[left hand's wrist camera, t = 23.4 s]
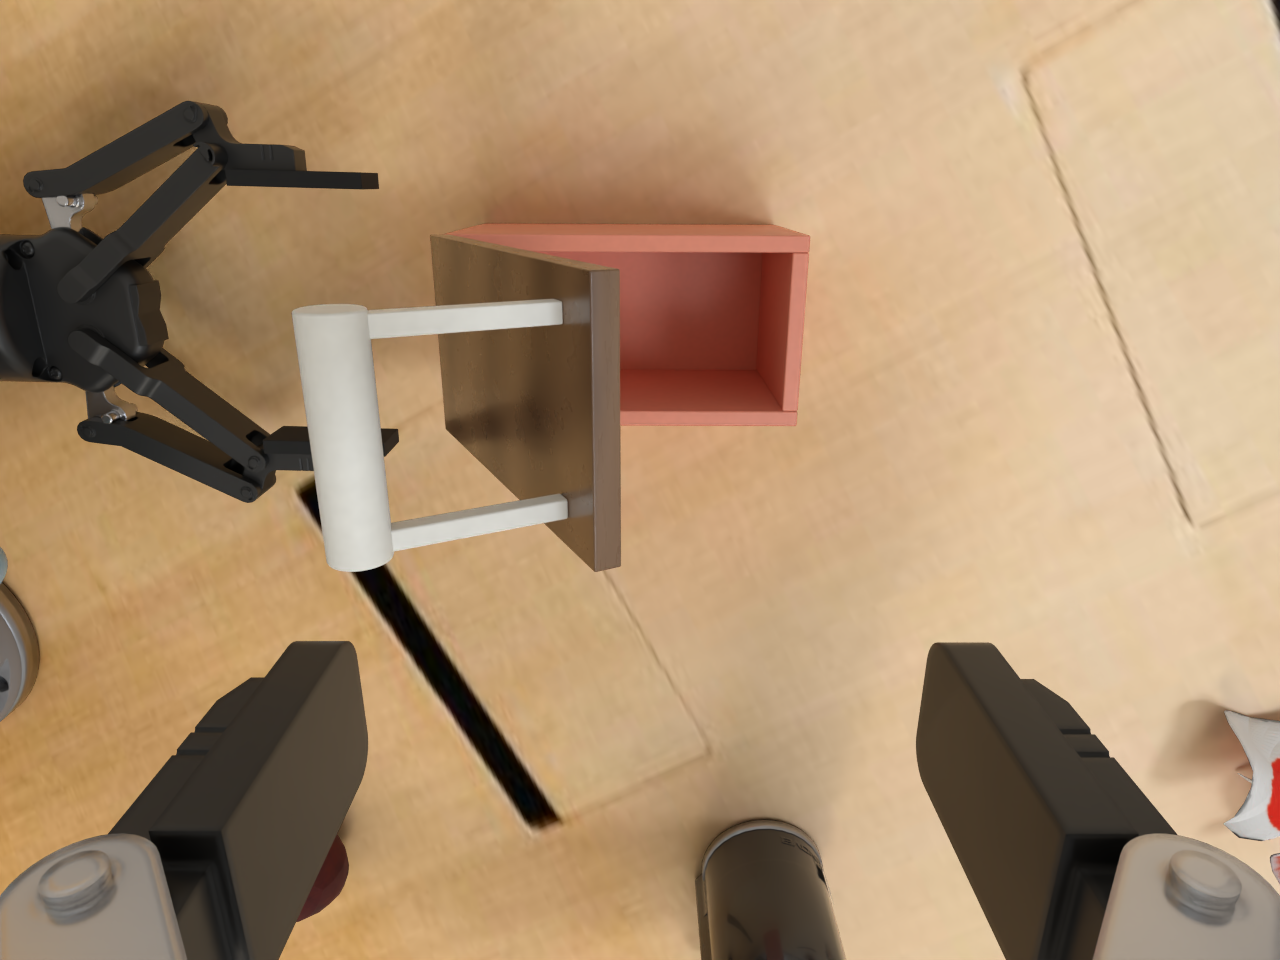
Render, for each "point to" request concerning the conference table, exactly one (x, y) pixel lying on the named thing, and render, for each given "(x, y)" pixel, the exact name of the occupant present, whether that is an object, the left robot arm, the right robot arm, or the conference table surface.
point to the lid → (477, 402)
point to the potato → (327, 880)
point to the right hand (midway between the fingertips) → (382, 318)
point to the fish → (1259, 781)
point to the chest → (693, 314)
